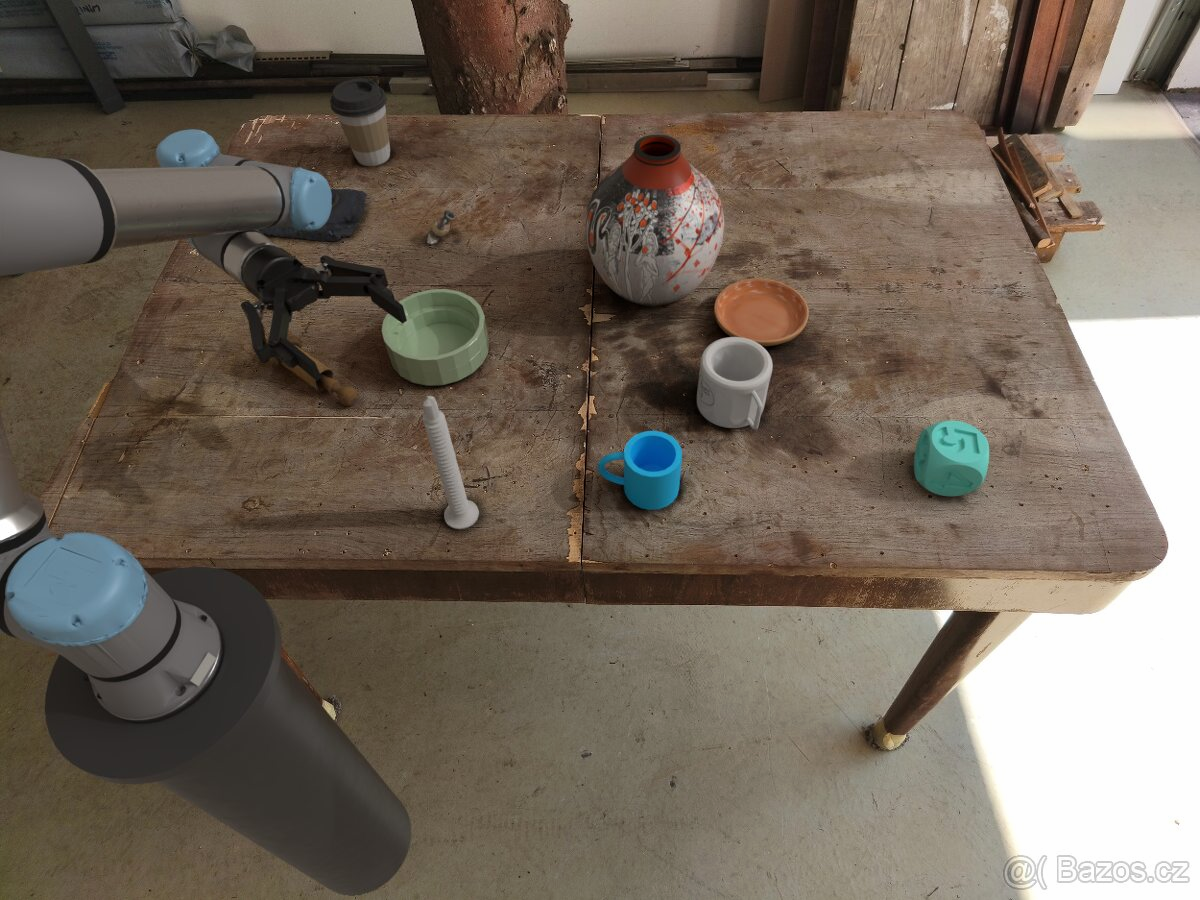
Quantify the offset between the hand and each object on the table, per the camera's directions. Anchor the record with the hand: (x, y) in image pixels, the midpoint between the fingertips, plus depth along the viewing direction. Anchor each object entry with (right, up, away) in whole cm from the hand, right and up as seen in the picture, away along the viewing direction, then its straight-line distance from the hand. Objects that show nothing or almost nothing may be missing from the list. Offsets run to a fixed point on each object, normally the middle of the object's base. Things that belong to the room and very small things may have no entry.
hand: (360, 342), depth 102 cm
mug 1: (+36, -19, +18) cm, 44 cm away
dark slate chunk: (-28, +33, +60) cm, 74 cm away
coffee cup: (-19, +50, +72) cm, 89 cm away
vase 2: (+40, +16, +45) cm, 62 cm away
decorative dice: (+81, -17, +18) cm, 85 cm away
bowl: (+3, +3, +35) cm, 36 cm away
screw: (+10, -23, +15) cm, 30 cm away
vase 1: (0, +27, +54) cm, 61 cm away
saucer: (+58, +9, +39) cm, 70 cm away
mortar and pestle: (-24, +4, +32) cm, 40 cm away
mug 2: (+52, -7, +26) cm, 58 cm away
